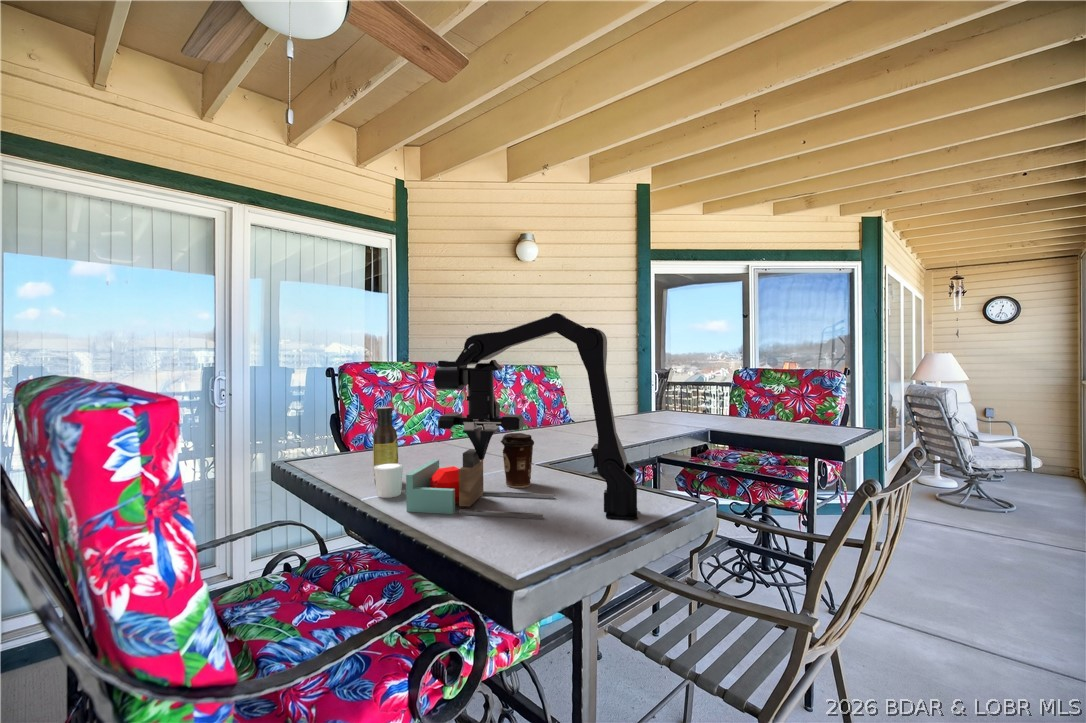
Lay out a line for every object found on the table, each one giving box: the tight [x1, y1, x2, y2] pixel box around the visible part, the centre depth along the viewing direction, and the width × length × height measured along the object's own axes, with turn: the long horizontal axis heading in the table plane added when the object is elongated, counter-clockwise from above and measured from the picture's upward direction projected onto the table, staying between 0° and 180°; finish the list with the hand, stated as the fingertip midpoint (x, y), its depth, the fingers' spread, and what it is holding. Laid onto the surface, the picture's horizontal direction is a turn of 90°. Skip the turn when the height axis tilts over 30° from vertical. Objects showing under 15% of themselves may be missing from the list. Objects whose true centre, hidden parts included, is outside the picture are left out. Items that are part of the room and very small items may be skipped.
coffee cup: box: [500, 432, 535, 489], centre depth 129 cm, size 9×8×13 cm
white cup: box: [373, 462, 404, 499], centre depth 121 cm, size 7×7×7 cm
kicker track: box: [458, 490, 555, 520], centre depth 112 cm, size 18×15×1 cm
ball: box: [430, 466, 460, 505], centre depth 115 cm, size 8×8×8 cm
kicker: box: [458, 448, 484, 507], centre depth 113 cm, size 2×10×11 cm, turn 170°
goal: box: [405, 459, 456, 515], centre depth 114 cm, size 10×15×8 cm
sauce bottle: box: [372, 406, 399, 484], centre depth 132 cm, size 6×6×20 cm
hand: (481, 459), depth 113 cm, fingers closed
